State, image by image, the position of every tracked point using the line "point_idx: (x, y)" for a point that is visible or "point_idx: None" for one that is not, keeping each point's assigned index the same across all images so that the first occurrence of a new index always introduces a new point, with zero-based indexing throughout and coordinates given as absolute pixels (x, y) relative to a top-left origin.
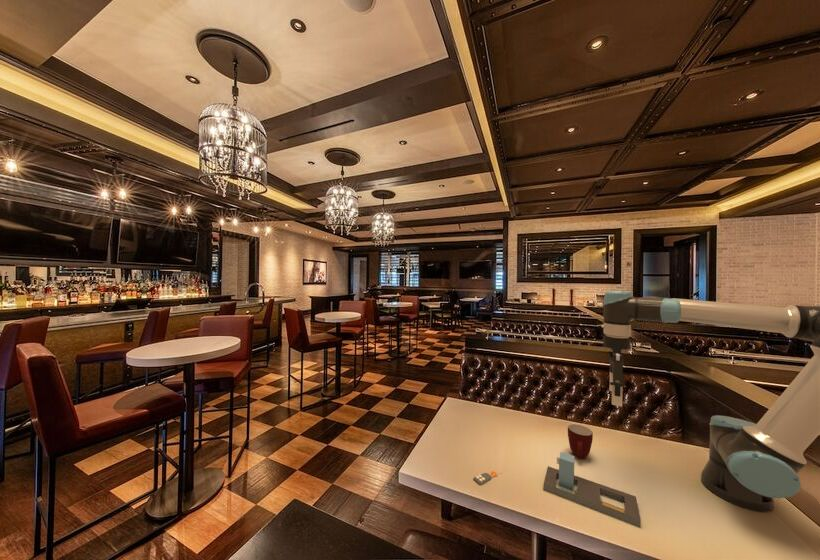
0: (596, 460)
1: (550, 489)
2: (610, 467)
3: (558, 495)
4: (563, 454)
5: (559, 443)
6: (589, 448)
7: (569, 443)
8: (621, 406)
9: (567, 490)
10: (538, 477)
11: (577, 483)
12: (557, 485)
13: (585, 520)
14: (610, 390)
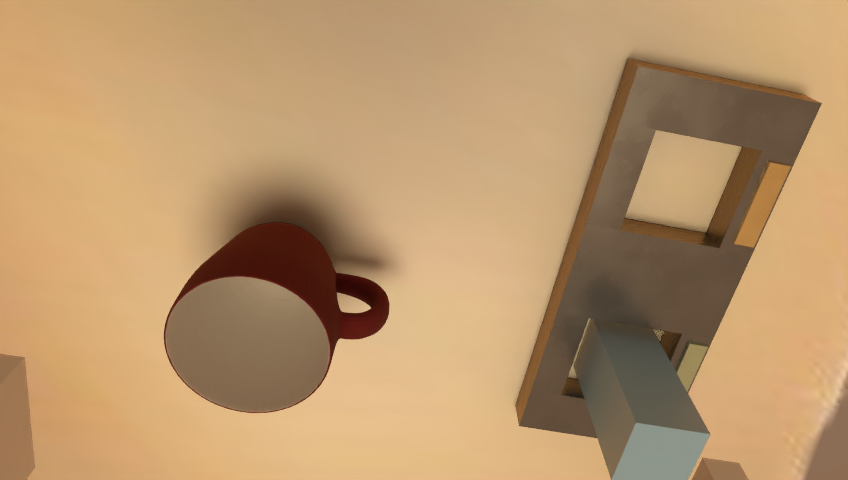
0: (287, 169)
1: None
2: (327, 105)
3: None
4: (635, 469)
5: None
6: (308, 247)
7: (287, 338)
8: (733, 470)
9: (688, 369)
10: (572, 440)
11: (616, 322)
12: None
13: (800, 303)
14: (30, 462)
